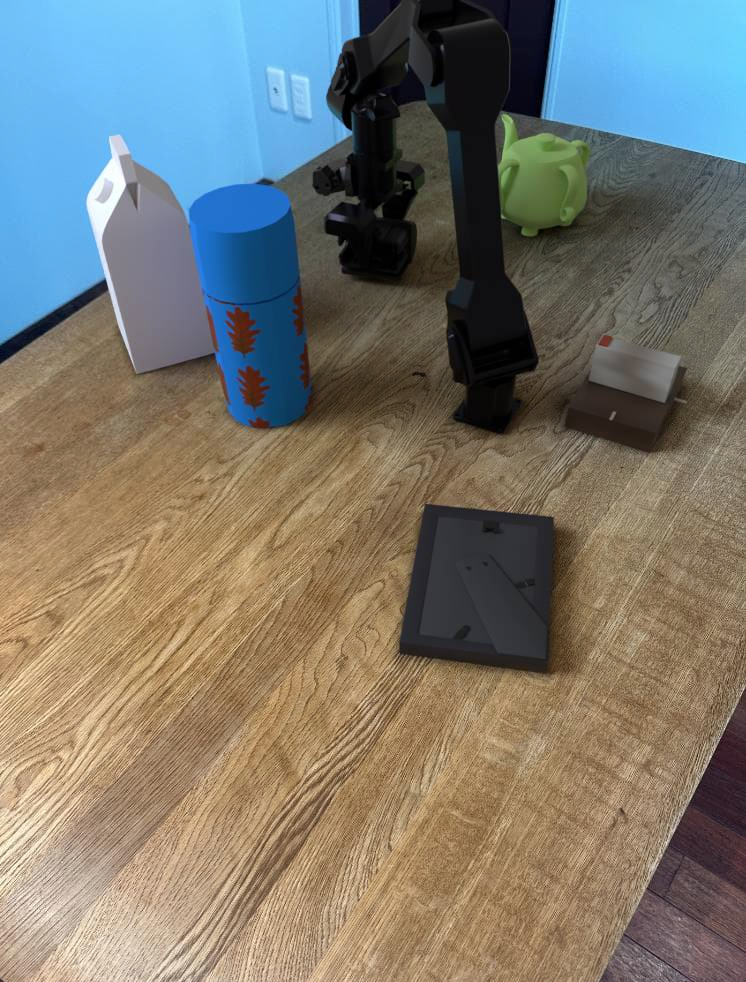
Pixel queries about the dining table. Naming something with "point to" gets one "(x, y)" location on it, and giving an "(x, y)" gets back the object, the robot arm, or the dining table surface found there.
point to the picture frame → (481, 588)
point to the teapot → (541, 179)
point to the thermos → (253, 301)
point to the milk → (148, 264)
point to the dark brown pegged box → (620, 413)
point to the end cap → (384, 251)
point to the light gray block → (634, 368)
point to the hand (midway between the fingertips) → (377, 255)
